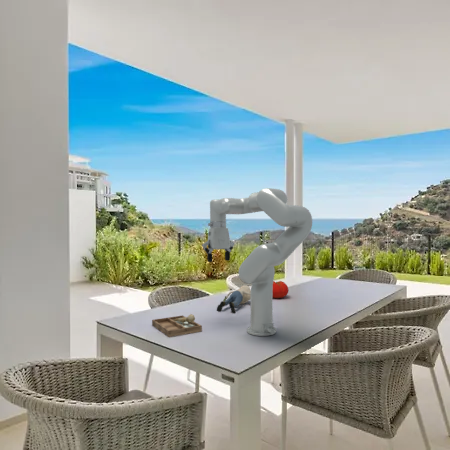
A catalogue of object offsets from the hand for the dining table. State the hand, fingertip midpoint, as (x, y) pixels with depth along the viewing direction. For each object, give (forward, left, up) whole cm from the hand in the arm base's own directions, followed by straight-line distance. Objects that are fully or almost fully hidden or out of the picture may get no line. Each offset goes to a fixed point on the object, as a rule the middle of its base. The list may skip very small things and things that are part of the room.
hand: (218, 261), depth 180 cm
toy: (+22, -24, -30) cm, 44 cm away
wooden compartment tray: (+1, +22, -29) cm, 36 cm away
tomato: (+30, -59, -29) cm, 72 cm away
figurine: (+1, +18, -28) cm, 33 cm away
